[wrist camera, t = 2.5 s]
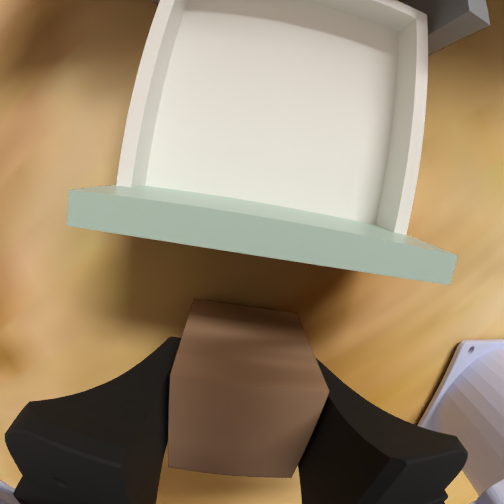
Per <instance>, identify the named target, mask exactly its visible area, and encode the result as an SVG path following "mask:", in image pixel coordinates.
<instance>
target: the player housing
mask: <svg viewBox="0 0 504 504" xmlns="http://www.w3.org/2000/svg"><path fill="white" fill-rule="evenodd" d="M152 2H160V0H152ZM403 3H404V4H406V5H408V6H410V7H412V8H414V9H417V10H419V11H421V12H423V13H425V14H427V25H428V56H429V55H431V54H433V53H435V52H437V51H439V50H441V49H442V48H444V47H446V46H448V45H450V44H452V43H454V42H456V41H458V40H460V39H462V38H464V37H466V36H469V35H471V34H473V33H475V32H477V31H479V30H481V29H483V28H486V27H488V26H490V20H489V15H488V9H487V4H486V0H403Z"/></svg>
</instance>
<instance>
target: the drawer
mask: <svg viewBox="0 0 504 504" xmlns="http://www.w3.org/2000/svg"><path fill="white" fill-rule="evenodd" d="M427 78H428V25H427V14H425V13H423V12H421V11H419V10H417V9H414V8H412V7H410V6H408V5H406V4H404V3H402V2H399V1H397V0H160V2H159V5H158V7H157V10H156V13H155V16H154V19H153V22H152V25H151V28H150V31H149V34H148V38H147V41H146V44H145V47H144V51H143V54H142V58H141V62H140V65H139V69H138V73H137V77H136V81H135V85H134V89H133V93H132V98H131V102H130V107H129V111H128V116H127V121H126V126H125V132H124V137H123V143H122V149H121V155H120V161H119V168H118V175H117V183H116V185H109V186H99V187H90V188H81V189H72V190H69V199H68V212H67V226H72V227H78V228H84V229H91V230H97V231H103V232H110V233H116V234H122V235H128V236H135V237H141V238H147V239H154V240H160V241H166V242H173V243H179V244H185V245H192V246H198V247H205V248H211V249H217V250H224V251H230V252H237V253H243V254H249V255H256V256H262V257H269V258H275V259H282V260H288V261H295V262H301V263H308V264H314V265H321V266H327V267H334V268H340V269H347V270H353V271H360V272H366V273H373V274H379V275H386V276H392V277H399V278H406V279H412V280H419V281H425V282H432V283H439V284H445V285H450V283H451V279H452V276H453V272H454V269H455V265H456V262H457V258H458V255H455V254H453V253H451V252H448V251H446V250H443V249H441V248H439V247H436V246H434V245H431V244H429V243H426V242H424V241H421V240H419V239H416V238H414V237H411V236H408V235H406V234H407V229H408V225H409V220H410V215H411V210H412V205H413V200H414V195H415V189H416V183H417V177H418V171H419V164H420V157H421V150H422V142H423V133H424V123H425V112H426V98H427Z"/></svg>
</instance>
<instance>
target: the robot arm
mask: <svg viewBox="0 0 504 504" xmlns="http://www.w3.org/2000/svg"><path fill="white" fill-rule="evenodd" d="M180 341H181V338H177V337H170V338H168V339H167V340H166V341H165V342H164V343H163V344H162V345H161V346H160V347H158V348H157V349H156V350H155V351H154V352H153V353H151V354H150V355H149V356H148V357H147V358H145V359H144V360H143V361H141V362H140V363H139V364H137V365H136V366H134V367H133V368H132V369H130V370H129V371H127V372H126V373H124V374H122V375H121V376H119V377H117V378H115V379H113V380H111V381H109V382H107V383H105V384H102V385H100V386H97V387H95V388H92V389H89V390H87V391H84V392H81V393H77V394H74V395H70V396H65V397H61V398H56V399H49V400H41V401H32V402H29V403H28V404H27V405H26V406H25V407H24V408H23V409H22V411H21V412H20V413H19V415H18V416H17V418H16V419H15V420H14V422H13V423H12V425H11V426H10V427H9V429H8V430H7V432H6V433H5V442H6V445H7V447H8V450H9V452H10V454H11V456H12V458H13V459H14V461H15V463H16V465H17V467H18V468H19V470H20V472H21V473H22V475H23V476H22V478H21V480H20V482H19V483H18V485H17V487H16V489H15V488H13V487H11V486H9V485H7V484H6V483H4V482H2V481H1V480H0V504H156V498H157V491H158V485H159V479H160V473H161V467H162V462H163V457H164V453H165V449H166V445H167V442H168V424H169V391H170V374H171V371H172V367H173V364H174V361H175V358H176V354H177V351H178V348H179V345H180ZM316 360H317V363H318V365H319V368H320V370H321V372H322V375H323V377H324V379H325V382H326V384H327V387H328V389H329V394H328V397H327V399H326V402H325V404H324V407H323V409H322V411H321V414H320V416H319V419H318V421H317V423H316V426H315V428H314V430H313V433H312V435H311V437H310V440H309V442H308V444H307V446H306V448H305V451H304V453H303V455H302V457H301V459H300V461H299V463H298V468H299V476H300V485H301V495H302V504H445V503H444V501H445V500H446V499H447V498H448V495H447V493H446V492H445V489H446V487H447V486H448V485H449V484H450V483H451V482H452V481H453V480H454V478H455V477H456V476H457V475H458V474H459V472H460V471H461V470H462V471H463V472H464V474H465V475H466V477H467V478H468V480H469V481H470V483H471V484H472V486H473V487H474V489H475V490H476V492H477V493H478V495H479V497H478V498H477V500H476V501H474V502H472V503H470V504H504V339H491V340H463V341H462V342H461V343H460V344H459V345H458V347H457V349H456V351H455V353H454V356H453V358H452V360H451V362H450V364H449V367H448V369H447V371H446V373H445V375H444V377H443V379H442V381H441V383H440V385H439V387H438V389H437V391H436V393H435V395H434V397H433V398H432V400H431V402H430V404H429V406H428V408H427V409H426V411H425V413H424V415H423V416H422V418H421V420H420V421H419V423H418V425H414V424H411V423H409V422H406V421H404V420H402V419H399V418H397V417H395V416H393V415H391V414H389V413H387V412H385V411H383V410H382V409H380V408H378V407H377V406H375V405H373V404H372V403H370V402H369V401H367V400H366V399H364V398H363V397H361V396H360V395H359V394H357V393H356V392H355V391H353V390H352V389H351V388H349V387H348V386H347V385H346V384H345V383H343V382H342V381H341V380H340V379H339V378H338V377H336V376H335V375H334V374H333V373H332V372H331V371H330V370H329V369H328V368H327V367H325V366H324V365H323V364H322V363H321V362H320V361H319V360H318V359H317V358H316Z"/></svg>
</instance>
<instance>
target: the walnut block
mask: <svg viewBox="0 0 504 504" xmlns="http://www.w3.org/2000/svg"><path fill="white" fill-rule="evenodd" d="M328 394H329V389H328V387H327V384H326V382H325V379H324V377H323V375H322V372H321V370H320V368H319V365H318V363H317V360H316V358H315V356H314V353H313V351H312V349H311V346H310V344H309V342H308V339H307V337H306V335H305V332H304V330H303V328H302V325H301V323H300V321H299V318H298V316H297V314H296V313H294V312H286V311H278V310H270V309H262V308H255V307H248V306H241V305H234V304H227V303H220V302H214V301H208V300H201V299H195V298H194V301H193V304H192V307H191V310H190V313H189V316H188V319H187V323H186V326H185V329H184V332H183V335H182V338H181V341H180V345H179V348H178V351H177V354H176V358H175V361H174V364H173V367H172V371H171V374H170V391H169V424H168V467H171V468H177V469H183V470H189V471H196V472H204V473H212V474H222V475H233V476H247V477H274V478H292V476H293V474H294V472H295V469H296V467H297V465H298V463H299V461H300V459H301V457H302V455H303V453H304V451H305V448H306V446H307V444H308V442H309V440H310V437H311V435H312V433H313V430H314V428H315V426H316V423H317V421H318V419H319V416H320V414H321V411H322V409H323V407H324V404H325V402H326V399H327V397H328Z"/></svg>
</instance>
